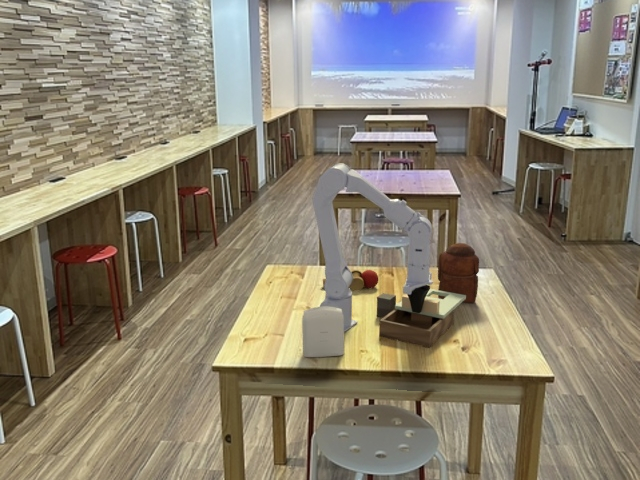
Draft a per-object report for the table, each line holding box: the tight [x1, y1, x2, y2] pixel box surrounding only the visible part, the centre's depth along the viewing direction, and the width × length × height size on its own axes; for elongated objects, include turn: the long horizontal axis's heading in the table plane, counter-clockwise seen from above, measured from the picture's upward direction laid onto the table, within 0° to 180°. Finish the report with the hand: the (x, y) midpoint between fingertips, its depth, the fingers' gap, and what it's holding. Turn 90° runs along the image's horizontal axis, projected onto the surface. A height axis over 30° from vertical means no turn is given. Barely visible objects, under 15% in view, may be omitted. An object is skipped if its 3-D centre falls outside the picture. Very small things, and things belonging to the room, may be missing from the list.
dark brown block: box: [376, 292, 397, 319], centre depth 175 cm, size 4×4×6 cm
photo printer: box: [301, 306, 345, 358], centre depth 150 cm, size 10×4×12 cm, turn 96°
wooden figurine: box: [437, 242, 480, 304], centre depth 186 cm, size 12×6×18 cm, turn 85°
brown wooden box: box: [378, 308, 456, 349], centre depth 166 cm, size 18×14×4 cm
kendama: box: [322, 269, 379, 292], centre depth 200 cm, size 8×6×18 cm
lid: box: [395, 288, 466, 319], centre depth 172 cm, size 18×14×4 cm
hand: (416, 312), depth 164 cm, fingers closed
